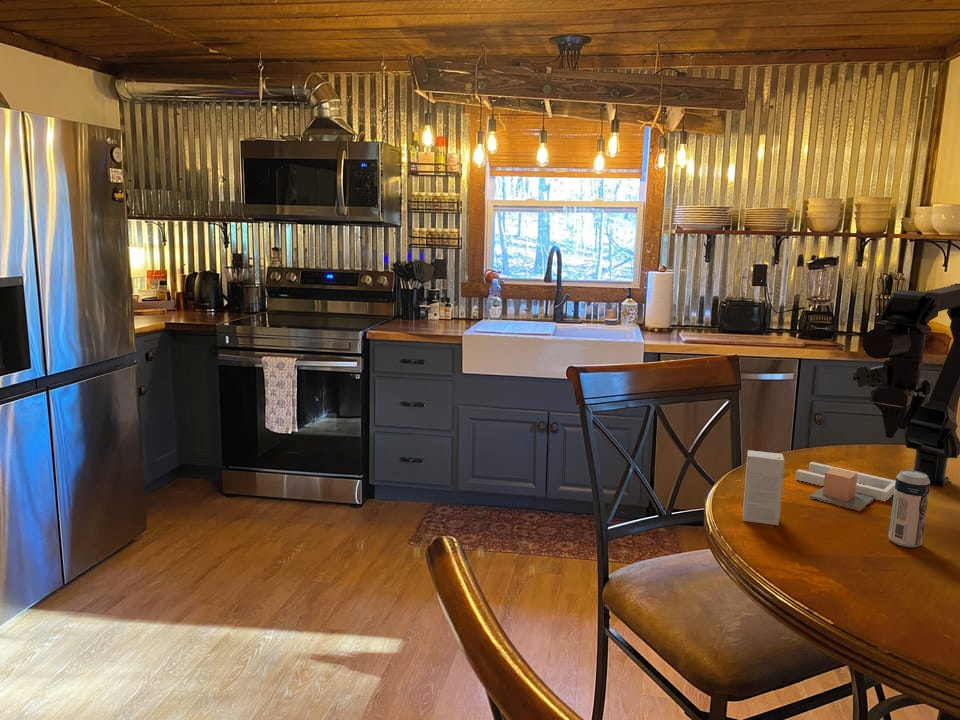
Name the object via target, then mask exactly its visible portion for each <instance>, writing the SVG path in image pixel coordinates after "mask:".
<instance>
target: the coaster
mask: <svg viewBox="0 0 960 720" xmlns="http://www.w3.org/2000/svg"><path fill="white" fill-rule="evenodd" d="M810 498H813V499H818V500H822V501H826V502H830V503H834V504H838V505H842V506H845V507H849V508H853V509H857V510H861V509H863V508H864V507H865V506H866V505H867V504H869V503H870V502H871V501H872V500H874V499H875V497H874V496H870V495H866V494H862V493H858V492H855V496H853V497H852V498H851V499H850V500H848V501H845V500H841V499H837V498H833V497H829V496H825V495H823V487H821V488H819V489H818V490H817V491H815V492H813V493H812V494H810V495H809V499H810ZM813 499H812V500H813ZM874 501H875V500H874ZM872 502H873V501H872ZM872 502H871V503H872ZM871 503H870V504H871ZM870 504H869V505H870ZM865 508H866V507H865ZM865 508H864V509H865ZM864 509H863V510H864Z"/></svg>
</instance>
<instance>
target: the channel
mask: <svg viewBox="0 0 960 720" xmlns="http://www.w3.org/2000/svg"><path fill="white" fill-rule="evenodd" d="M832 468H837V469H841V470H846V471H850V472H854V473H858V474H857V482H856V490H855V492H858V493H862V494H866V495H870V496H874V497H875V499H878V500H882V501H886V500H887V501H888V500H889V499H890V498H892V495H893V496H894V490H895V482H896V479H890V478H885V477H881V476H877V475H872V474H868V473H863V472H859V471H856V470H855V471H854V470H849V469H845V468H842V467H836V466H832V465H828V464H824V463H819V462H814V461H810V462H809V463H808V470H804V469H797V470H796V471H795V473H796V474H795V481H797V480H799V481H798V482H801V481H804V482H803V483H805V482H809V483H814V484H818V485H823V486H824V478H825V472H827V471H828V470H830V469H832ZM821 474H822V475H821ZM809 483H808V484H809ZM859 483H861V484H859ZM863 484H865V485H863ZM878 500H877V501H878ZM882 501H881V502H882ZM887 501H886V502H887Z"/></svg>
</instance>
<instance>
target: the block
mask: <svg viewBox="0 0 960 720" xmlns="http://www.w3.org/2000/svg"><path fill="white" fill-rule="evenodd" d="M837 468H838V467H837ZM837 468H832V469H830V470H828V471H827V472H825V478H824V487H823V495H825V496H829V497H833V498H837V499H841V500H845V501H848V500H850V499H851V498H852V497H853V496H855V490H856V482H857V474H858V473H854V472H850V471H846V470H847V469H846V470H841V469H837Z"/></svg>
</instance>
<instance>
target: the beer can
mask: <svg viewBox="0 0 960 720" xmlns="http://www.w3.org/2000/svg"><path fill="white" fill-rule="evenodd" d="M895 481H896V482H895V490H894V495H893V499H892V507H891V514H890V522H889V530H888V535H887V536H888V539H889V541H891V542H892V543H894V544H895V545H898V546H900V547H904V548H913V549H914V548H917V547H920V546H922V544H923V537H924V530H925V523H926V516H927V510H928V502H929V495H930V486H931V484H930V480H929V478H928V476H927V475H926V474H924V473H921V472H918V471H913V470H912V469H902V470H901V471H899V473H897V475H896V477H895Z"/></svg>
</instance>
